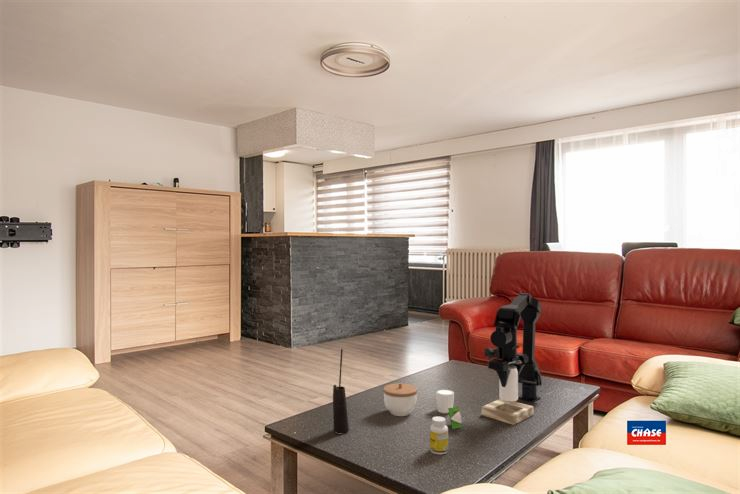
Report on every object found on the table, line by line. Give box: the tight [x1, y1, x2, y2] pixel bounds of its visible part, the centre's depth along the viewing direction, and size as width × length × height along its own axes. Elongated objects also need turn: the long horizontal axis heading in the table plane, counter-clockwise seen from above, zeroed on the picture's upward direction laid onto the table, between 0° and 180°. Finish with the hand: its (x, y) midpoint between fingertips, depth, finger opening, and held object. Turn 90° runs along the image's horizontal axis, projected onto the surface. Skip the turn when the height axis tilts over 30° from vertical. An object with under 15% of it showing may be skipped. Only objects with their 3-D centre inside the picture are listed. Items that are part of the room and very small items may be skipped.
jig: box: [481, 398, 535, 426], centre depth 169 cm, size 14×13×3 cm
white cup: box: [435, 389, 455, 414], centre depth 173 cm, size 7×7×7 cm
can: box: [498, 364, 519, 402], centre depth 167 cm, size 6×6×12 cm
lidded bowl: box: [382, 382, 418, 417], centre depth 171 cm, size 13×13×11 cm
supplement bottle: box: [429, 416, 449, 455], centre depth 139 cm, size 5×5×10 cm
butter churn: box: [332, 348, 350, 434], centre depth 155 cm, size 9×10×28 cm
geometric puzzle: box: [446, 406, 466, 430], centre depth 158 cm, size 7×7×8 cm
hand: (508, 384), depth 167 cm, fingers closed on can, 6 cm apart
